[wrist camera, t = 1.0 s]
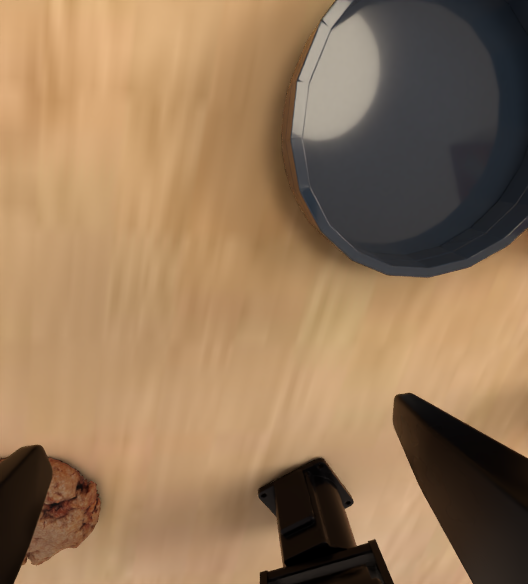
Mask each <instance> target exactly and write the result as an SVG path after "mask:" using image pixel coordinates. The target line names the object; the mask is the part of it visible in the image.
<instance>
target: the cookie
mask: <svg viewBox="0 0 528 584" xmlns="http://www.w3.org/2000/svg"><path fill="white" fill-rule="evenodd" d="M3 460H5V459H0V463H1V462H2V461H3ZM49 462H50V464H51V466H52V469H53V476H52V481H51V484H50V487H49V490H48V493H47V496H46V499H45V502H44V505H43V508H42V511H41V514H40V517H39V520H38V523H37V526H36V529H35V532H34V535H33V538H32V540H31V543H30V546H29V548H28V551H27V553H26V556H25V558H24V561H23V563H22V565H24V564H25V563H26V562H27V557H28V559H30V560H31V562H32V563H31V564H33V565H36V566H37V565H39V564H42V563H43V562H44V561H47V560H48V559H50V558H51V557H52V556H53V555H55V554H56V553H58V552H59V551H61V550H63V549H66V548H77V547H78V546H79V545H80V543H81V542H82V541H83V540H85V539H86V538H87V537H88V535H89V534H90V533H91V532H92V531H93V529H94V527H95V525H96V523H97V522H98V517H99V512H100V509H101V508H100V505H101V501H100V498H97V497H98V496H99V494H96V492H97V491H98V490H96V486H97V484H95V483H94V482H93V481H90V482H87V479H86V480H84V478H83V475H82V476H80V473H79V471H76V469H73V468H71V467H70V466H69V465H68V464H66V463H63V462H62V461H60V460H54V459H52V458H49Z"/></svg>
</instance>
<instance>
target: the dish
mask: <svg viewBox="0 0 528 584" xmlns="http://www.w3.org/2000/svg"><path fill="white" fill-rule="evenodd" d="M282 153H283V160H284V165H285V171H286V175H287V178H288V181H289V185H290V188H291V190H292V192H293V195H294V197H295V199H296V201H297V203H298V205H299V207H300V208H301V210H302V211H303V213H304V215H305V216H306V218H307V220H308V222H309V223H310V224H311V225H312V226H313V227H314V228H315V229H316V230H318V231H319V232H320V233H321V234H322V235H323V236H324V237H325V238H326V239H327V240H328V241H329V242H331V243H332V244H333V245H334V246H335V247H336V248H337V249H338V250H340V251H341V252H342V253H343V254H345V255H346V256H347V257H348V258H349V259H351V260H352V261H354V262H357V263H359V264H362V265H364V266H366V267H369V268H371V269H374V270H376V271H378V272H381V273H383V274H386V275H390V276H407V277H424V278H427V277H433V276H437V275H441V274H445V273H449V272H453V271H457V270H461V269H465V268H468V267H471V266H473V265H474V264H476V263H478V262H480V261H482V260H483V259H485V258H487V257H489V256H491V255H492V254H494V253H496V252H498V251H500V250H501V249H503V248H505V247H507V246H508V245H509V244H511V243H512V242H513V241H514V240H515V239H516V238H517V237H518V236H519V235H520V234H521V233H522V232H524V231H525V230H526V229H527V228H528V0H335V2H334V3H333V4H332V6H331V7H330V8H329V10H328V11H327V12H326V13H325V15H324V16H323V17H322V19H321V20H320V22H319V23H318V25H317V26H316V28H315V29H314V31H313V32H312V34H311V36H310V37H309V39H308V40H307V42H306V44H305V46H304V49H303V52H302V54H301V56H300V58H299V61H298V63H297V65H296V68H295V70H294V72H293V75H292V78H291V81H290V85H289V87H288V90H287V93H286V100H285V106H284V111H283V120H282Z"/></svg>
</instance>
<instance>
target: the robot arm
mask: <svg viewBox="0 0 528 584" xmlns="http://www.w3.org/2000/svg"><path fill="white" fill-rule="evenodd" d="M393 425H394V428H395V431H396V433H397V435H398V438H399V440H400V442H401V445H402V447H403V449H404V452H405V454H406V456H407V459H408V461H409V463H410V466H411V468H412V470H413V473H414V475H415V477H416V480H417V482H418V484H419V486H420V488H421V490H422V492H423V494H424V496H425V498H426V499H427V501H428V503H429V505H430V507H431V508H432V510H433V512H434V514H435V516H436V517H437V519H438V521H439V523H440V525H441V527H442V528H443V530H444V532H445V534H446V536H447V537H448V539H449V541H450V543H451V545H452V546H453V548H454V550H455V552H456V554H457V556H458V557H459V559H460V561H461V563H462V565H463V566H464V568H465V570H466V572H467V574H468V575H469V577H470V579H471V581H472V583H473V584H528V458H526V457H524V456H522V455H521V454H519V453H517V452H515V451H514V450H512V449H510V448H508V447H507V446H505V445H503V444H501V443H499V442H498V441H496V440H494V439H492V438H491V437H489V436H487V435H485V434H483V433H482V432H480V431H478V430H476V429H475V428H473V427H471V426H469V425H467V424H466V423H464V422H462V421H460V420H459V419H457V418H455V417H453V416H451V415H450V414H448V413H446V412H444V411H443V410H441V409H439V408H437V407H435V406H434V405H432V404H430V403H428V402H427V401H425V400H423V399H421V398H419V397H418V396H416V395H414V394H412V393H405V394H398V395H396V396H395V398H394V408H393ZM52 476H53V469H52V466H51V464H50V462H49V459H48V457H47V455H46V453H45V450H44V448H43V447H42V446H41V445H32V446H25V447H22V448H20V449H18V450H17V451H16V452H14V453H13V454H11V455H10V456H9V457H7V458H6V459H5V460H3V461H2V462H1V463H0V584H14V582H15V579H16V577H17V575H18V572H19V570H20V568H21V565H22V563H23V561H24V558H25V556H26V553H27V551H28V548H29V546H30V543H31V540H32V538H33V535H34V532H35V529H36V526H37V523H38V520H39V517H40V514H41V511H42V508H43V505H44V502H45V499H46V496H47V493H48V490H49V487H50V484H51V481H52ZM258 497H259V498H260V499H261V501H262V502H263V503H264V504H265V505H266V506H267V507H268V508H269V509H270V510H271V511H272V512H273V513H274V515H275V516H276V517H277V524H278V532H279V539H280V547H281V555H282V562H283V568H279V569H276V570H272V571H269V572H268V571H263V572H260V584H394V583H393V581H392V578H391V576H390V573H389V571H388V569H387V566H386V564H385V562H384V559H383V557H382V554H381V552H380V550H379V547H378V545H377V542H376V540H375V539H374V540H371V541H368V543H366V544H363V545H359V546H357V545H356V542H355V539H354V536H353V533H352V530H351V527H350V524H349V521H348V518H347V515H346V512H345V508H347V507H349V506H351V505H352V504H353V499H352V496H351V495H350V494H349V492H348V491H347V490H346V488H345V487H344V486H343V484H342V483H341V482H340V480H339V479H338V477H337V476H336V475H335V473H334V472H333V471H332V469H331V468H330V467H329V465H328V464H327V463H326V461H325V460H324V459H322V458H318V459H316V460H314V461H312V462H310V463H308V464H306V465H304V466H302V467H300V468H298V469H296V470H294V471H292V472H291V473H289V474H287V475H285V476H283V477H281V478H279V479H277V480H275V481H273V482H271V483H269V484H267V485H265V486H263V487H261V488H260V489H259V490H258Z"/></svg>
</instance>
